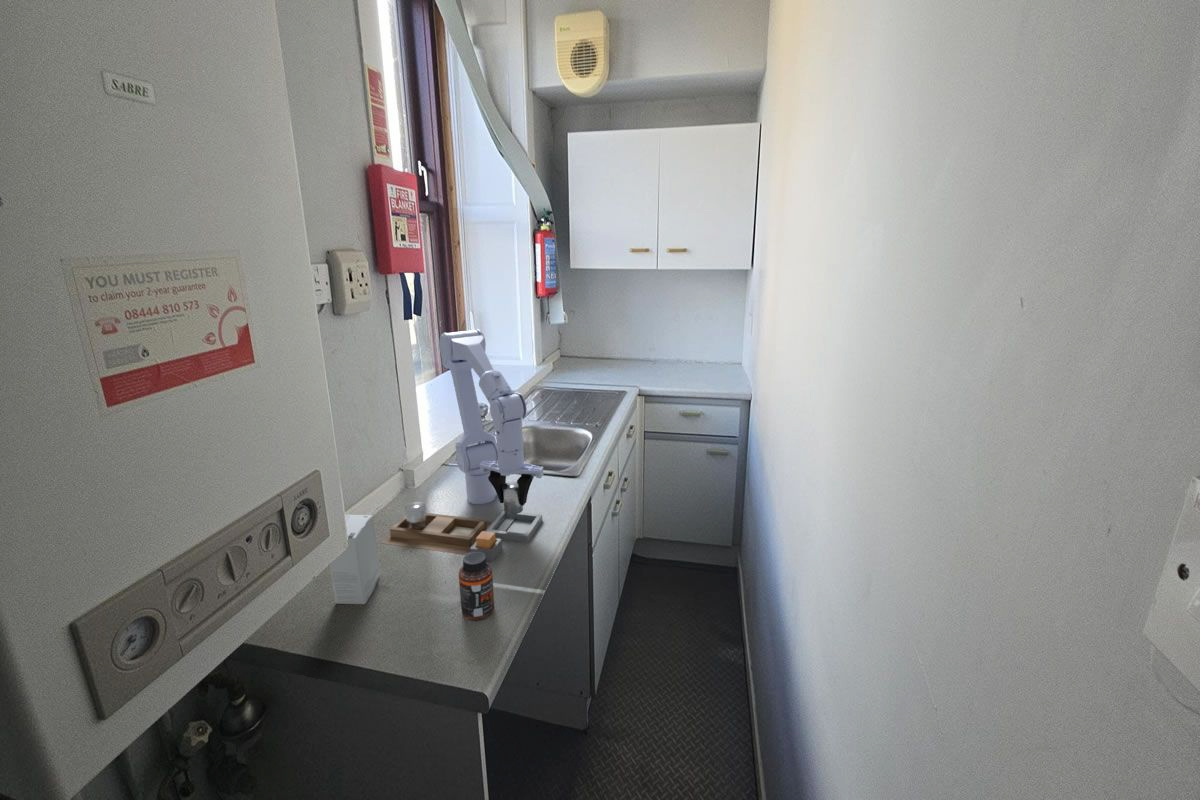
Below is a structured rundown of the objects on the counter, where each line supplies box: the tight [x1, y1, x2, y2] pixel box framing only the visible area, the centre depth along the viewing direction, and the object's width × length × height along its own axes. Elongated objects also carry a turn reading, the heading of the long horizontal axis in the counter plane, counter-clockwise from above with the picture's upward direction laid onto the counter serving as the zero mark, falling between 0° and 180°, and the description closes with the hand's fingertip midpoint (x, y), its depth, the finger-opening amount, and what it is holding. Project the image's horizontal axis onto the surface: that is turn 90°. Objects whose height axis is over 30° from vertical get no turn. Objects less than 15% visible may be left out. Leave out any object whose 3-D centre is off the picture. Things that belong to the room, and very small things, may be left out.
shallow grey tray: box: [486, 509, 543, 544], centre depth 128 cm, size 10×10×2 cm
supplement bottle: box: [458, 552, 495, 621], centre depth 99 cm, size 6×6×11 cm
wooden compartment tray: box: [380, 512, 494, 556], centre depth 125 cm, size 14×21×3 cm, turn 77°
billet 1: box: [404, 501, 427, 530], centre depth 126 cm, size 4×4×6 cm
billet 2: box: [502, 481, 524, 514], centre depth 125 cm, size 4×4×6 cm
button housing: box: [470, 537, 503, 563], centre depth 118 cm, size 5×5×3 cm
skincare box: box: [328, 514, 381, 605], centre depth 104 cm, size 8×6×15 cm
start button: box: [476, 531, 496, 549], centre depth 117 cm, size 3×3×3 cm
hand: (513, 502), depth 126 cm, fingers closed on billet 2, 4 cm apart
